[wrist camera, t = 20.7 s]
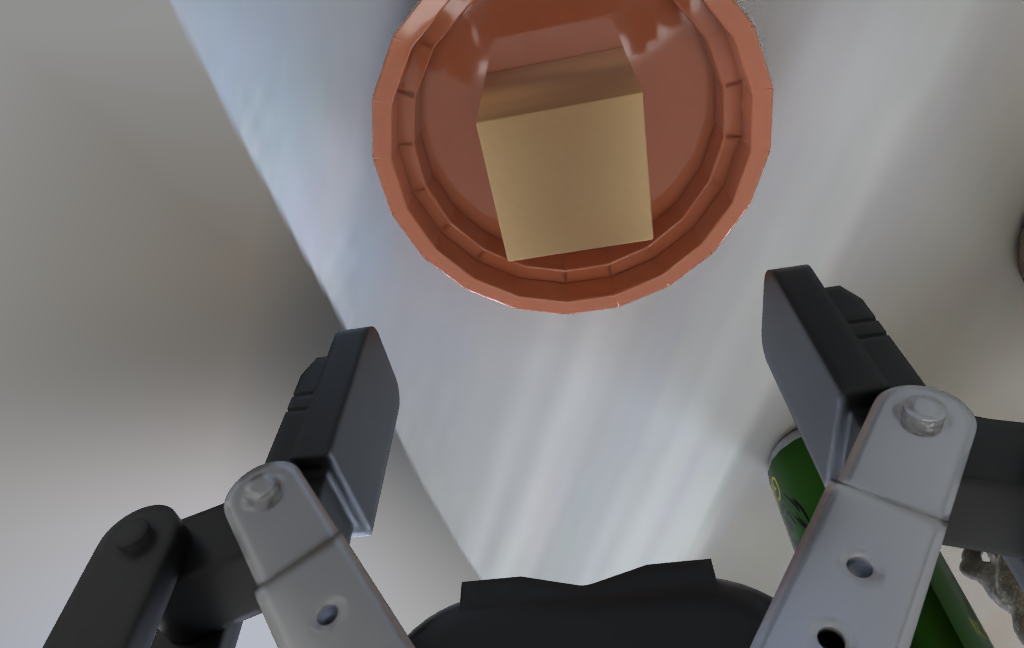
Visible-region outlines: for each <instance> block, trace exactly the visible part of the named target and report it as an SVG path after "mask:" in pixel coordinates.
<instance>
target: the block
mask: <svg viewBox="0 0 1024 648" xmlns="http://www.w3.org/2000/svg"><path fill="white" fill-rule="evenodd" d="M476 126H477V130H478V135H479V139H480V143H481V148H482V152H483V156H484V161H485V165H486V169H487V173H488V178H489V182H490V186H491V191H492V195H493V199H494V204H495V208H496V212H497V216H498V221H499V225H500V229H501V234H502V238H503V242H504V247H505V251H506V255H507V259H508V261H515V260H522V259H528V258H535V257H541V256H548V255H554V254H561V253H567V252H574V251H580V250H587V249H593V248H600V247H606V246H613V245H619V244H626V243H632V242H639V241H645V240H652V239H653V225H652V212H651V198H650V185H649V172H648V158H647V145H646V132H645V118H644V105H643V93H642V91H641V88H640V86H639V83H638V81H637V78H636V76H635V74H634V71H633V69H632V66H631V64H630V62H629V59H628V57H627V54H626V52H625V50H624V48H623V47H621V48H616V49H611V50H606V51H601V52H595V53H590V54H585V55H580V56H575V57H570V58H565V59H560V60H554V61H549V62H544V63H539V64H534V65H529V66H524V67H519V68H513V69H508V70H503V71H498V72H493V73H488V74H486V76H485V81H484V86H483V91H482V96H481V101H480V106H479V111H478V116H477V121H476Z"/></svg>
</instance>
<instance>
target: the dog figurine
mask: <svg viewBox="0 0 1024 648" xmlns="http://www.w3.org/2000/svg"><path fill="white" fill-rule="evenodd" d="M982 554H983V552H982V551H976V550H970V549H964V550H963V552H962V561H961V563H960V566H959V569H960V572H961V573H962V574H963V575H964V576H966V577H968V578H971V579H973V580H976V581H978V582H979V583H980V584H981V585H982V586H983V587H984V589H985V591H986V592H987V594H988V595H989V597H990V598H991V599H992V600H993V601H994V602H995V603H996V604H997V605H998V606H999V607H1001V608H1002V609H1003V610H1005V611H1006V612H1008V613H1010V614H1011V615H1012V621H1013V627H1014V631H1015V633H1016V635H1017V637H1018V639H1019V640H1020V642H1021V643H1022V644H1023V645H1024V593H1023V591H1022V589H1021V588H1020V586H1019V584H1018V583H1017V581H1016V579H1015V577H1014V576H1013V574H1012V572H1011V571H1010V569H1009V567H1008V566H1007V564H1006V562H1005V560H1004V559H1003V557H1002V555H999V554H993V553H987V554H988V556H989V558H990V562H984V561H982V557H981V556H982Z"/></svg>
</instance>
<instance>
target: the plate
mask: <svg viewBox="0 0 1024 648" xmlns="http://www.w3.org/2000/svg"><path fill="white" fill-rule="evenodd" d="M621 47H623V48H624V50H625V52H626V54H627V57H628V59H629V62H630V64H631V66H632V69H633V71H634V74H635V76H636V78H637V81H638V83H639V86H640V88H641V91H642V93H643V105H644V118H645V132H646V145H647V158H648V172H649V185H650V198H651V212H652V225H653V239H652V240H645V241H639V242H632V243H626V244H619V245H613V246H606V247H600V248H593V249H587V250H580V251H574V252H567V253H561V254H554V255H548V256H541V257H535V258H528V259H522V260H515V261H508V259H507V255H506V251H505V247H504V242H503V238H502V234H501V229H500V225H499V221H498V216H497V212H496V208H495V204H494V199H493V195H492V191H491V186H490V182H489V178H488V173H487V169H486V165H485V161H484V156H483V152H482V148H481V143H480V139H479V135H478V130H477V126H476V121H477V116H478V111H479V106H480V101H481V96H482V91H483V86H484V81H485V76H486V74H488V73H493V72H498V71H503V70H508V69H513V68H519V67H524V66H529V65H534V64H539V63H544V62H549V61H554V60H560V59H565V58H570V57H575V56H580V55H585V54H590V53H595V52H601V51H606V50H611V49H616V48H621ZM772 103H773V87H772V81H771V78H770V75H769V72H768V69H767V65H766V62H765V59H764V56H763V52H762V49H761V46H760V43H759V40H758V36H757V33H756V30H755V27H754V25H753V24H752V21H751V20H750V19H749V18H748V16H747V15H746V14H745V12H744V11H743V10H742V9H741V7H740V6H739V5H738V4H737V2H736V1H735V0H418V1H417V3H416V4H415V5H414V7H413V8H412V9H411V10H410V12H409V13H408V14H407V16H406V17H405V19H404V20H403V22H402V23H401V24H400V26H399V27H398V29H397V30H396V32H395V33H394V36H393V37H392V40H391V43H390V46H389V49H388V52H387V55H386V58H385V61H384V64H383V67H382V70H381V73H380V76H379V79H378V82H377V85H376V88H375V91H374V94H373V99H372V138H373V159H374V160H373V161H374V164H375V167H376V170H377V173H378V176H379V179H380V182H381V185H382V188H383V191H384V194H385V197H386V199H387V202H388V205H389V208H390V211H391V213H392V215H393V217H394V218H395V220H396V221H397V222H398V224H399V225H400V226H401V228H402V229H403V230H404V232H405V233H406V235H407V236H408V237H409V239H410V240H411V241H412V243H413V244H414V245H415V247H416V248H417V250H418V251H419V252H420V254H421V255H422V256H423V257H424V258H425V259H426V260H428V261H429V262H430V263H432V264H433V265H434V266H436V267H437V268H438V269H439V270H441V271H442V272H443V273H445V274H446V275H447V276H449V277H450V278H451V279H453V280H454V281H455V282H457V283H458V284H459V285H461V286H462V287H463V288H466V289H467V290H469V291H471V292H474V293H476V294H479V295H481V296H484V297H486V298H489V299H491V300H494V301H496V302H499V303H502V304H504V305H507V306H509V307H512V308H514V307H515V308H516V309H523V310H531V311H540V312H549V313H557V314H573V313H580V312H587V311H594V310H602V309H609V308H616V307H618V306H623V305H625V304H627V303H630V302H632V301H635V300H637V299H640V298H642V297H644V296H647V295H649V294H652V293H654V292H657V291H659V290H661V289H664V288H666V287H668V285H669V286H670V285H671V284H673V283H674V282H675V281H677V280H678V279H679V278H681V277H682V276H683V275H685V274H686V273H687V272H689V271H690V270H691V269H693V268H694V267H695V266H696V265H698V264H699V263H700V262H702V261H703V260H704V259H706V258H707V257H708V256H710V255H711V254H712V253H713V252H714V251H715V250H716V249H717V247H718V246H719V245H720V243H721V242H722V241H723V240H724V238H725V237H726V236H727V234H728V233H729V232H730V230H731V229H732V228H733V226H734V225H735V224H736V223H737V221H738V220H739V219H740V217H741V216H742V215H743V213H744V212H745V211H746V209H747V208H748V206H749V205H750V203H751V200H752V197H753V195H754V192H755V189H756V187H757V184H758V181H759V179H760V176H761V173H762V171H763V168H764V165H765V163H766V160H767V158H768V155H769V152H770V148H771V126H772Z"/></svg>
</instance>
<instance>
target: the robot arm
mask: <svg viewBox="0 0 1024 648" xmlns="http://www.w3.org/2000/svg"><path fill="white" fill-rule="evenodd" d="M762 344H763V350H764V354H765V358H766V360H767V363H768V365H769V367H770V370H771V372H772V374H773V376H774V378H775V380H776V382H777V385H778V387H779V389H780V391H781V393H782V395H783V398H784V400H785V402H786V404H787V406H788V408H789V411H790V413H791V415H792V417H793V419H794V421H795V423H796V426H797V428H798V430H799V432H800V434H801V436H802V439H803V441H804V443H805V445H806V447H807V449H808V452H809V454H810V456H811V458H812V460H813V462H814V464H815V467H816V469H817V471H818V473H819V475H820V477H821V480H822V482H823V484H824V486H825V490H824V492H823V494H822V497H821V499H820V501H819V503H818V505H817V507H816V509H815V511H814V513H813V516H812V518H811V520H810V522H809V524H808V526H807V528H806V530H805V532H804V534H803V537H802V539H801V541H800V543H799V545H798V547H797V549H796V551H795V553H794V555H793V558H792V560H791V562H790V564H789V566H788V568H787V570H786V572H785V574H784V577H783V579H782V581H781V583H780V585H779V587H778V589H777V591H776V593H775V595H774V598H773V597H771V596H769V595H767V594H765V593H763V592H761V591H759V590H756V589H754V588H751V587H748V586H746V585H743V584H739V583H736V582H732V581H728V580H723V579H717V578H716V577H715V573H714V569H713V565H712V561H711V559H703V560H693V561H682V562H671V563H661V564H650V565H645V566H642V567H639V568H637V569H634V570H631V571H628V572H625V573H622V574H619V575H616V576H613V577H611V578H608V579H605V580H602V581H599V582H596V583H593V584H590V585H584V586H580V585H572V584H566V583H559V582H553V581H546V580H540V579H533V578H527V577H511V578H500V579H490V580H479V581H468V582H462V587H461V599H460V602H459V603H456V604H453V605H451V606H449V607H447V608H445V609H443V610H441V611H439V612H437V613H436V614H434V615H432V616H431V617H429V618H428V619H426V620H425V621H424V622H422V623H421V624H420V625H419V626H417V627H416V628H415V629H414V630H413V631H412V632H411V633H410V634H409V635H407V634H406V632H405V631H404V629H403V627H402V626H401V625H400V623H399V621H398V620H397V618H396V617H395V615H394V614H393V612H392V610H391V609H390V607H389V606H388V604H387V603H386V601H385V600H384V598H383V597H382V595H381V593H380V592H379V590H378V589H377V587H376V586H375V584H374V582H373V581H372V579H371V578H370V576H369V575H368V573H367V572H366V570H365V569H364V567H363V565H362V564H361V562H360V561H359V559H358V557H357V556H356V554H355V553H354V551H353V550H352V548H351V547H350V545H349V544H350V540H351V537H358V536H369V535H372V531H373V526H374V521H375V516H376V512H377V507H378V503H379V498H380V494H381V489H382V484H383V480H384V475H385V470H386V466H387V461H388V456H389V452H390V447H391V443H392V438H393V433H394V429H395V424H396V420H397V415H398V410H399V389H398V384H397V380H396V378H395V375H394V372H393V370H392V367H391V365H390V362H389V360H388V357H387V354H386V352H385V349H384V347H383V344H382V342H381V339H380V337H379V334H378V332H377V330H376V329H375V328H374V327H372V326H371V327H364V328H357V329H350V330H343V331H338V332H337V333H336V334H335V337H334V339H333V342H332V345H331V347H330V350H329V353H328V356H326V357H319V358H316V359H315V361H314V362H313V363H312V364H311V365H310V366H309V367H308V368H307V369H306V370H305V371H304V373H303V374H302V375H301V377H300V379H299V382H298V384H297V386H296V389H295V391H294V397H292V399H291V401H290V403H289V406H288V412H286V414H285V416H284V418H283V421H282V423H281V425H280V428H279V430H278V433H277V435H276V438H275V440H274V443H273V445H272V447H271V450H270V452H269V455H268V458H267V460H266V462H265V464H263V465H260V466H258V467H256V468H254V469H252V470H251V471H249V472H247V473H246V474H245V475H243V476H242V477H241V478H240V479H239V480H238V481H237V482H236V483H235V484H234V485H233V487H232V488H231V489H230V491H229V492H228V494H227V496H226V499H225V503H223V504H221V505H218V506H216V507H213V508H211V509H208V510H206V511H203V512H200V513H197V514H195V515H192V516H190V517H187V518H184V519H182V520H181V519H180V518H179V516H178V515H177V514H176V513H175V511H174V510H173V509H171V508H170V507H168V506H165V505H153V506H148V507H144V508H142V509H139V510H137V511H135V512H132V513H131V514H129V515H127V516H126V517H124V518H123V519H121V520H120V521H119V522H117V523H116V524H115V525H114V526H113V527H112V528H111V529H110V530H109V531H108V532H107V533H106V534H105V535H104V537H103V538H102V539H101V541H100V543H99V544H98V546H97V548H96V549H95V551H94V553H93V555H92V557H91V559H90V561H89V563H88V564H87V566H86V568H85V570H84V572H83V574H82V575H81V577H80V579H79V581H78V583H77V585H76V587H75V589H74V590H73V592H72V594H71V596H70V598H69V600H68V601H67V604H66V605H65V607H64V609H63V611H62V613H61V614H60V616H59V618H58V620H57V622H56V624H55V626H54V627H53V629H52V631H51V633H50V635H49V637H48V639H47V640H46V642H45V644H44V646H43V648H235V646H236V643H237V640H238V636H239V633H240V630H241V626H242V623H243V620H246V619H248V618H251V617H253V616H256V615H258V614H261V613H263V615H264V617H265V619H266V622H267V624H268V626H269V628H270V630H271V633H272V635H273V638H274V640H275V642H276V644H277V647H278V648H910V645H911V642H912V639H913V635H914V632H915V629H916V626H917V622H918V619H919V616H920V613H921V610H922V606H923V603H924V600H925V597H926V593H927V590H928V587H929V584H930V581H931V577H932V574H933V571H934V568H935V565H936V561H937V558H938V555H939V552H940V548H941V545H947V546H953V547H959V548H964V549H970V550H976V551H982V552H987V553H993V554H999V555H1002V557H1003V559H1004V560H1005V562H1006V564H1007V566H1008V567H1009V569H1010V571H1011V572H1012V574H1013V576H1014V577H1015V579H1016V581H1017V583H1018V584H1019V586H1020V588H1021V589H1022V591H1023V593H1024V423H1021V422H1012V421H1003V420H994V419H987V418H982V417H977V416H974V414H973V413H972V411H971V410H970V409H969V408H968V407H967V406H966V405H965V404H964V403H963V402H962V401H960V400H959V399H957V398H956V397H954V396H952V395H950V394H948V393H946V392H944V391H941V390H938V389H935V388H931V387H926V386H925V384H924V383H923V381H922V380H921V379H920V377H919V376H918V375H917V373H916V372H915V371H914V369H913V368H912V366H911V365H910V364H909V362H908V361H907V360H906V358H905V357H904V355H903V354H902V353H901V351H900V350H899V349H898V347H897V346H896V345H895V343H894V342H893V340H892V339H891V338H890V336H889V335H886V331H885V330H884V328H883V327H882V325H881V324H880V323H879V321H876V319H875V316H874V314H873V313H872V312H871V310H870V309H869V308H868V306H867V305H866V304H865V302H864V301H863V299H861V298H859V297H858V296H856V295H854V294H853V293H851V292H849V291H848V290H846V289H845V288H843V287H841V286H834V287H827V288H824V286H823V285H822V283H821V282H820V280H819V279H818V277H817V276H816V274H815V273H814V271H813V270H812V268H811V267H810V266H809V265H800V266H793V267H786V268H779V269H772V270H768V271H767V272H766V274H765V279H764V296H763V315H762ZM157 628H158V629H157ZM155 633H156V634H155ZM153 638H154V639H153ZM151 643H152V644H151Z"/></svg>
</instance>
